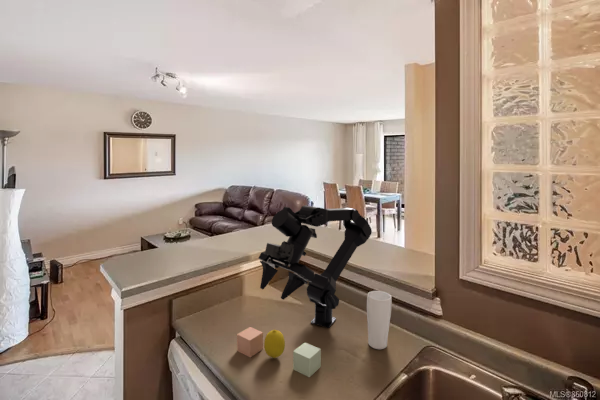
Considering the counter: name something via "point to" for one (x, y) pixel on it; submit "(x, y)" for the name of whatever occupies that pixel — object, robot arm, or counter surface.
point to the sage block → (306, 359)
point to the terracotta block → (250, 341)
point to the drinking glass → (378, 318)
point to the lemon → (274, 343)
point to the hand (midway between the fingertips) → (271, 293)
